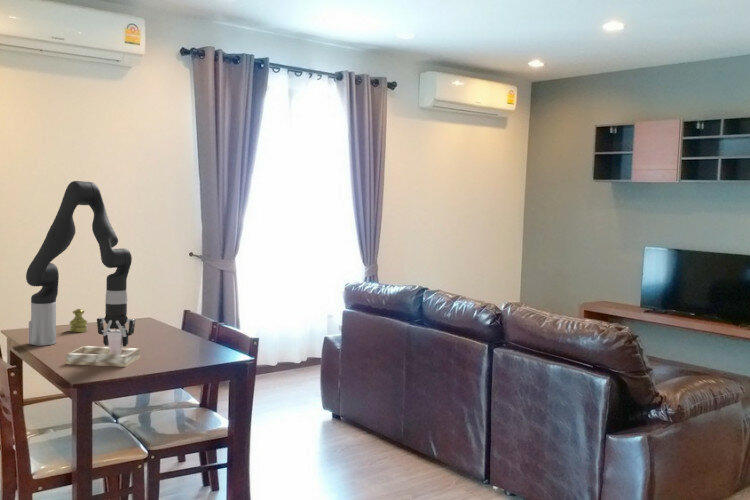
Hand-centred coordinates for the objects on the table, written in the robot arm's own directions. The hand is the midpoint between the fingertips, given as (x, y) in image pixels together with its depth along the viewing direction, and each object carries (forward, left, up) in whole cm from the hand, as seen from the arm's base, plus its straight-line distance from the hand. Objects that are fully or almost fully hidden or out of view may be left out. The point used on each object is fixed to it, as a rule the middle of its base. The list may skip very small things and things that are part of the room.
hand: (115, 345), depth 253 cm
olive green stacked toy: (-38, +50, -6) cm, 63 cm away
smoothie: (0, 0, -4) cm, 4 cm away
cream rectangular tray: (-5, 0, -6) cm, 8 cm away
